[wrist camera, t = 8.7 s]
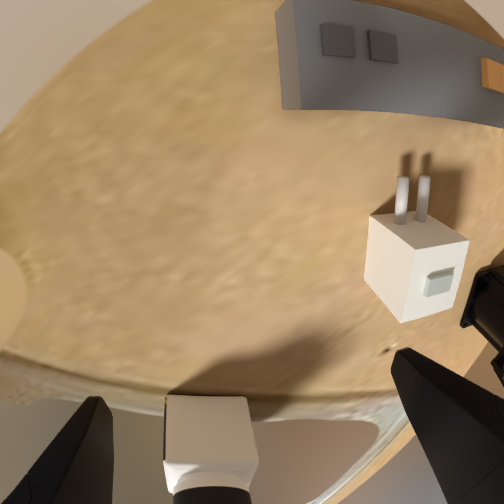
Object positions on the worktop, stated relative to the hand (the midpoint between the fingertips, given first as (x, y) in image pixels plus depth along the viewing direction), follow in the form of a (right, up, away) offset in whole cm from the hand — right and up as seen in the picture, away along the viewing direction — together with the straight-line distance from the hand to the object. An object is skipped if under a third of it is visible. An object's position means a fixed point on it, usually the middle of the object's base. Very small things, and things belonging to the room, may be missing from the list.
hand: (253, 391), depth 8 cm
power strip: (+9, +16, +8) cm, 20 cm away
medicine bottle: (-4, -11, +18) cm, 22 cm away
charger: (+10, +6, +13) cm, 17 cm away
